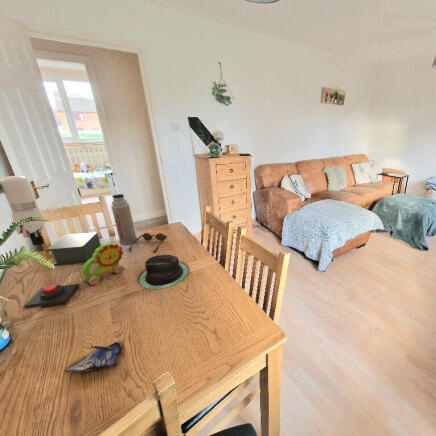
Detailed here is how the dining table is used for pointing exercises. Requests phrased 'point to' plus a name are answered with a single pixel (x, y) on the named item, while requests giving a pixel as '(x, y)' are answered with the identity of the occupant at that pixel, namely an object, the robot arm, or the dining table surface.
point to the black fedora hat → (162, 272)
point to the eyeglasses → (148, 237)
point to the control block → (53, 297)
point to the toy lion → (103, 262)
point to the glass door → (48, 255)
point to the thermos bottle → (123, 220)
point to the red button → (50, 289)
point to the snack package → (98, 358)
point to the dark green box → (74, 248)
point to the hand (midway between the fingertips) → (39, 244)
